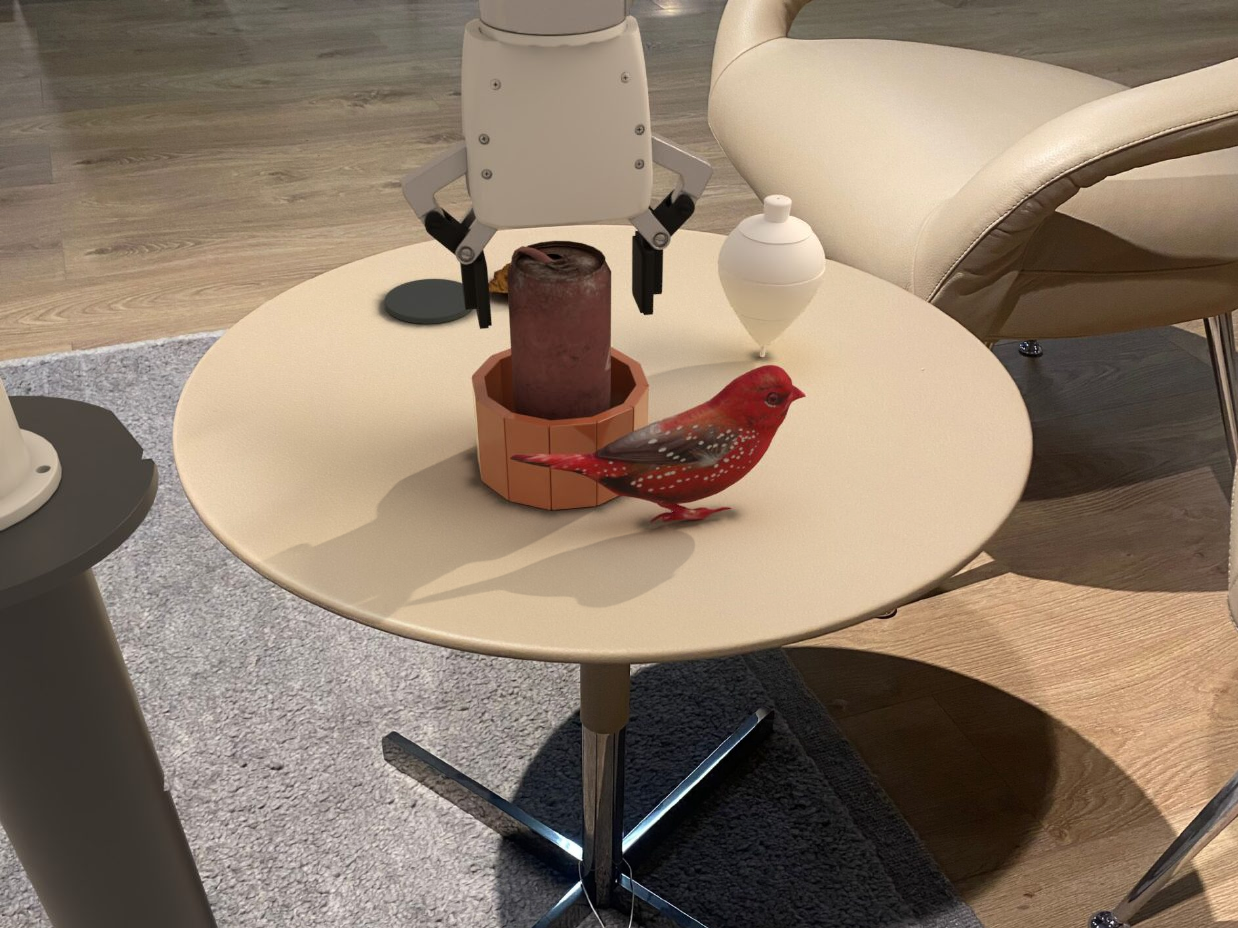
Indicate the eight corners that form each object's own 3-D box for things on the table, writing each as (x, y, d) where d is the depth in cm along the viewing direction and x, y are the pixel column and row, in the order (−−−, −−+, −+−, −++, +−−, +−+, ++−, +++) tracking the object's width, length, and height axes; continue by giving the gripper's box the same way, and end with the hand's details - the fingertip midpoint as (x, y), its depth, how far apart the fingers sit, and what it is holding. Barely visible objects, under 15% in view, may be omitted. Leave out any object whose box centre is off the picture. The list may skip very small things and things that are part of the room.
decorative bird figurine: (800, 518, 74) (820, 373, 67) (519, 559, 70) (511, 410, 64) (783, 492, 76) (801, 349, 69) (510, 531, 72) (501, 384, 66)
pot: (487, 516, 73) (481, 432, 69) (472, 426, 81) (465, 346, 77) (659, 500, 75) (662, 417, 71) (627, 413, 83) (628, 334, 79)
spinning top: (831, 371, 88) (854, 211, 80) (738, 389, 86) (752, 226, 78) (784, 326, 93) (801, 172, 86) (695, 342, 91) (704, 185, 83)
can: (535, 430, 81) (526, 229, 72) (622, 447, 79) (625, 245, 70) (498, 476, 77) (484, 269, 68) (590, 496, 75) (589, 286, 66)
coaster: (387, 327, 92) (386, 321, 92) (383, 287, 98) (383, 281, 97) (479, 320, 93) (479, 314, 93) (471, 281, 99) (471, 275, 98)
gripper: (701, -28, 64) (690, 274, 75) (377, -14, 62) (415, 296, 73) (737, 7, 58) (719, 328, 70) (381, 24, 56) (422, 354, 67)
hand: (563, 311), depth 71 cm, fingers open, 9 cm apart
